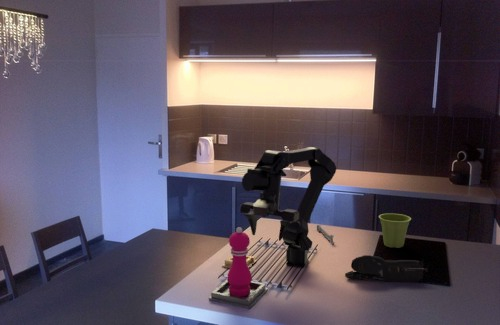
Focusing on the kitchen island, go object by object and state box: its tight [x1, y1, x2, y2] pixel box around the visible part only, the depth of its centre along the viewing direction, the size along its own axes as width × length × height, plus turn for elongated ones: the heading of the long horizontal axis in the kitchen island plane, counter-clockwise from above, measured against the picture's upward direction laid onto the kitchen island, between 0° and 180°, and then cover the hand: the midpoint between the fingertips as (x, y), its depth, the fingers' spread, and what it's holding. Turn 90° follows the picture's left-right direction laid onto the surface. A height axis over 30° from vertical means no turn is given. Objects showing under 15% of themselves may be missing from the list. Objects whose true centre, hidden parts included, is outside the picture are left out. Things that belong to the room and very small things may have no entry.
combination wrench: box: [316, 224, 335, 245], centre depth 184 cm, size 4×1×20 cm
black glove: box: [344, 254, 429, 283], centre depth 143 cm, size 7×25×8 cm, turn 92°
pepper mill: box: [226, 226, 253, 297], centre depth 131 cm, size 7×7×20 cm
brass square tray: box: [221, 255, 258, 269], centre depth 155 cm, size 9×9×2 cm
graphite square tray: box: [208, 279, 269, 310], centre depth 132 cm, size 13×13×2 cm
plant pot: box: [378, 213, 412, 249], centre depth 173 cm, size 12×12×11 cm
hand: (266, 237), depth 145 cm, fingers open, 9 cm apart
